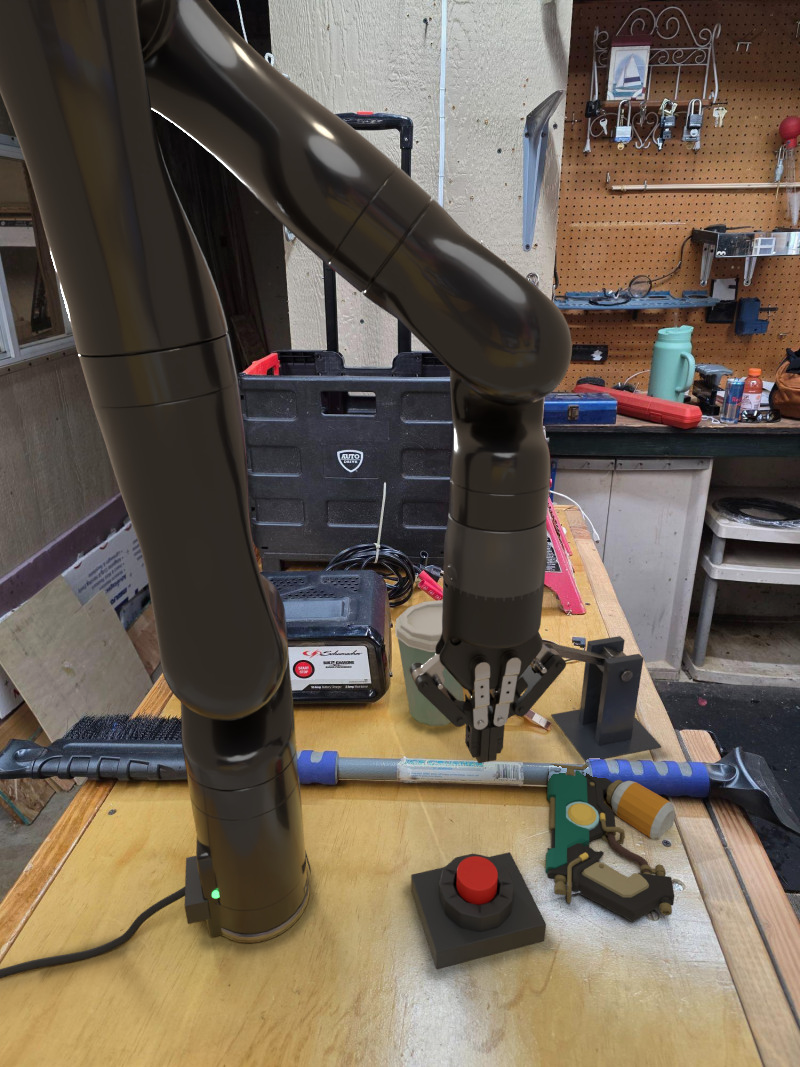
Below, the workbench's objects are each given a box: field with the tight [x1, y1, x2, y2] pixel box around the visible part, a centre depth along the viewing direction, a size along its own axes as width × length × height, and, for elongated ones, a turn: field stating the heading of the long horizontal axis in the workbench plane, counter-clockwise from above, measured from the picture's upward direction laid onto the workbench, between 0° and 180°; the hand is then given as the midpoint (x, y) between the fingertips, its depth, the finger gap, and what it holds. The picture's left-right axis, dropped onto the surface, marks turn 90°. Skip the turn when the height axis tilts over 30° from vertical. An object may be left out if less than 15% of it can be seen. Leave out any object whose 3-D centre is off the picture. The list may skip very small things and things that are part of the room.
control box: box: [410, 851, 547, 970], centre depth 62 cm, size 10×8×4 cm
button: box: [457, 856, 498, 904], centre depth 61 cm, size 4×4×2 cm
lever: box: [543, 641, 628, 673], centre depth 79 cm, size 13×6×2 cm, turn 105°
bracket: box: [550, 635, 662, 764], centre depth 83 cm, size 10×9×13 cm
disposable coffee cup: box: [394, 599, 464, 727], centre depth 87 cm, size 11×11×15 cm
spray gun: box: [545, 763, 676, 922], centre depth 69 cm, size 4×17×15 cm
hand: (482, 755), depth 58 cm, fingers closed
